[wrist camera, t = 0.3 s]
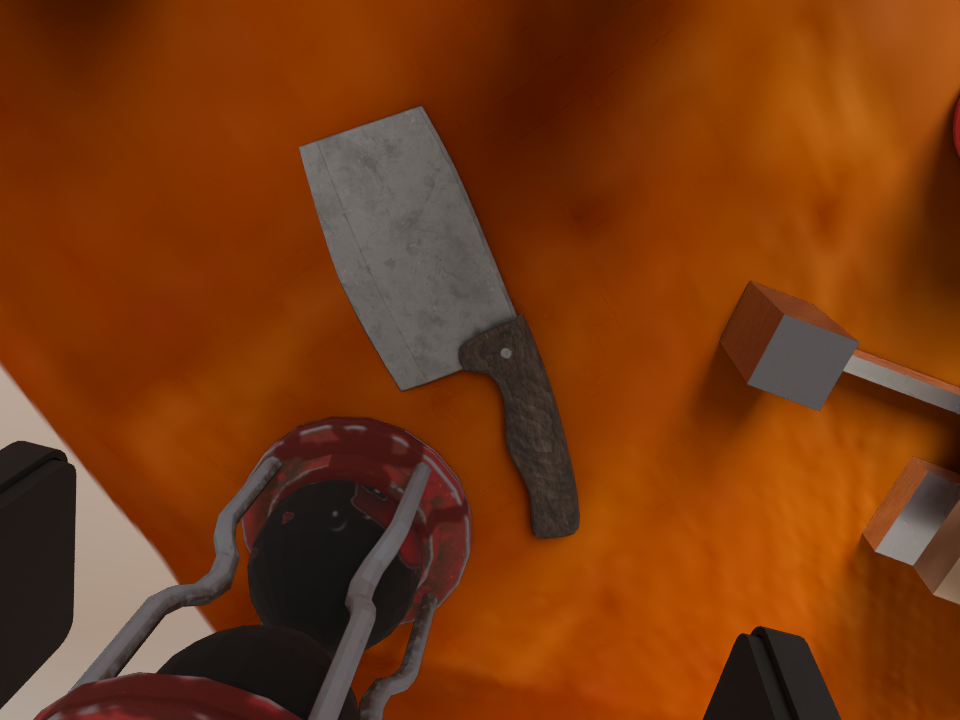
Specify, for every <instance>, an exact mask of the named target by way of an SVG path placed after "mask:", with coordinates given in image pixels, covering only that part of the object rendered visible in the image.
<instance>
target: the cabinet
mask: <svg viewBox="0 0 960 720" xmlns="http://www.w3.org/2000/svg"><path fill="white" fill-rule="evenodd" d="M913 568H914V569H915V571H916V572H917V574H918V575H919V576H920V578H921V579H922V580H923V582H924V583H925V585H926V586H927V587H928V589H929V590H930V591H931V593H932V594H933V595H935V596H938V597H941V598H943V599H946V600H949V601H951V602H954V603H957V604H959V605H960V499H959V501H958V502H957V504H956V505H955V507H954V508H953V509H952V511H951V512H950V514H949V515H948V517H947V518H946V519H945V521H944V522H943V524H942V525H941V527H940V528H939V529H938V531H937V532H936V534H935V535H934V537H933V538H932V539H931V541H930V542H929V544H928V545H927V547H926V548H925V549H924V551H923V552H922V554H921V555H920V557H919V558H918V559H917V561H916V562H915V564H914V565H913Z"/></svg>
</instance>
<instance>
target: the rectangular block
mask: <svg viewBox="0 0 960 720" xmlns="http://www.w3.org/2000/svg"><path fill="white" fill-rule="evenodd" d="M959 499H960V474H958V473H956V472H953V471H950V470H948V469H945V468H942V467H940V466H937V465H934V464H932V463H929V462H926V461H924V460H921V459H918V458H916V457H913V456H912V458H911V460H910V461H909V463H908V464H907V466H906V467H905V469H904V470H903V472H902V473H901V475H900V476H899V478H898V479H897V481H896V482H895V484H894V485H893V487H892V489H891V490H890V492H889V493H888V495H887V496H886V498H885V499H884V501H883V502H882V504H881V505H880V507H879V508H878V510H877V511H876V513H875V514H874V516H873V518H872V519H871V521H870V522H869V524H868V525H867V527H866V528H865V530H864V531H863V535H864V536H865V538H866V539H867V541H868V542H869V544H870V545H871V547H872V548H873V550H874V551H875V552H877V553H880V554H883V555H885V556H888V557H891V558H894V559H896V560H899V561H902V562H904V563H907V564H910V565H912V566H913V565H914V564H915V562H916V561H917V559H918V558H919V557H920V555H921V554H922V552H923V551H924V549H925V548H926V547H927V545H928V544H929V542H930V541H931V539H932V538H933V537H934V535H935V534H936V532H937V531H938V529H939V528H940V527H941V525H942V524H943V522H944V521H945V519H946V518H947V517H948V515H949V514H950V512H951V511H952V509H953V508H954V507H955V505H956V504H957V502H958V501H959Z"/></svg>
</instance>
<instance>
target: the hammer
mask: <svg viewBox="0 0 960 720" xmlns="http://www.w3.org/2000/svg"><path fill="white" fill-rule="evenodd" d="M719 342H720V343H721V345H722V346H723V348H724V349H725V351H726V352H727V354H728V355H729V357H730V359H731V360H732V362H733V363H734V365H735V366H736V368H737V369H738V371H739V373H740V374H741V376H742V377H743V379H744V380H745V382H746V383H747V384H748V385H750V386H753V387H756V388H758V389H761V390H764V391H767V392H769V393H772V394H775V395H777V396H780V397H783V398H785V399H788V400H791V401H793V402H796V403H799V404H801V405H804V406H807V407H810V408H812V409H815V410H818V411H820V409H821V407H822V406H823V404H824V402H825V401H826V399H827V397H828V396H829V394H830V392H831V390H832V389H833V387H834V385H835V384H836V382H837V380H838V378H839V377H840V375H841V373H842V372H843V371H845V372H848V373H850V374H853V375H856V376H858V377H861V378H864V379H866V380H869V381H872V382H874V383H877V384H880V385H882V386H885V387H888V388H890V389H893V390H896V391H898V392H901V393H904V394H906V395H909V396H912V397H914V398H917V399H920V400H922V401H925V402H928V403H931V404H933V405H936V406H939V407H941V408H944V409H947V410H949V411H952V412H955V413H957V414H960V388H959V387H957V386H954V385H951V384H949V383H946V382H943V381H941V380H938V379H935V378H933V377H930V376H927V375H925V374H922V373H919V372H917V371H914V370H911V369H909V368H906V367H903V366H901V365H898V364H895V363H893V362H890V361H887V360H885V359H882V358H879V357H877V356H874V355H871V354H869V353H866V352H863V351H861V350H858V349H856V348H857V346H858V344H859V343H860V342H858V341H857V340H856V339H855V338H854V337H852V336H851V335H850V334H849V333H847V332H846V331H845V330H844V329H843V328H841V327H840V326H839V325H838V324H837V323H835V322H834V321H833V320H832V319H831V318H829V317H828V316H827V315H826V314H825V313H823V312H822V311H821V310H820V309H818V308H817V307H816V306H815V305H814V304H811V303H808V302H806V301H803V300H800V299H798V298H795V297H792V296H790V295H787V294H784V293H782V292H779V291H776V290H774V289H771V288H768V287H766V286H763V285H760V284H758V283H755V282H752V281H750V282H749V283H748V285H747V287H746V289H745V291H744V293H743V295H742V297H741V299H740V301H739V303H738V305H737V307H736V309H735V311H734V313H733V315H732V317H731V319H730V321H729V323H728V325H727V327H726V329H725V331H724V333H723V335H722V337H721V339H720V341H719Z"/></svg>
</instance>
